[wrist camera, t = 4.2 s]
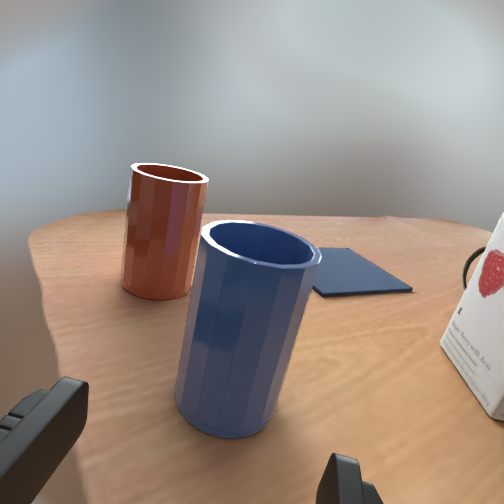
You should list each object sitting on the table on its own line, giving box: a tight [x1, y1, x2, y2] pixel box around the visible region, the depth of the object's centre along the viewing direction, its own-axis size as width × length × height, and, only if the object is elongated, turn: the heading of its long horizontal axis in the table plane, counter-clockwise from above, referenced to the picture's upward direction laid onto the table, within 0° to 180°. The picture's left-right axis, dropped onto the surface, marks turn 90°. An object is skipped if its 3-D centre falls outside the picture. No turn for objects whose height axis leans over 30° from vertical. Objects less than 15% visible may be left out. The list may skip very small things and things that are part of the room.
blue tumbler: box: [175, 220, 322, 439], centre depth 19 cm, size 6×6×10 cm
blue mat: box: [313, 248, 413, 297], centre depth 45 cm, size 14×12×1 cm
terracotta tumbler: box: [121, 163, 208, 300], centre depth 30 cm, size 6×6×10 cm
